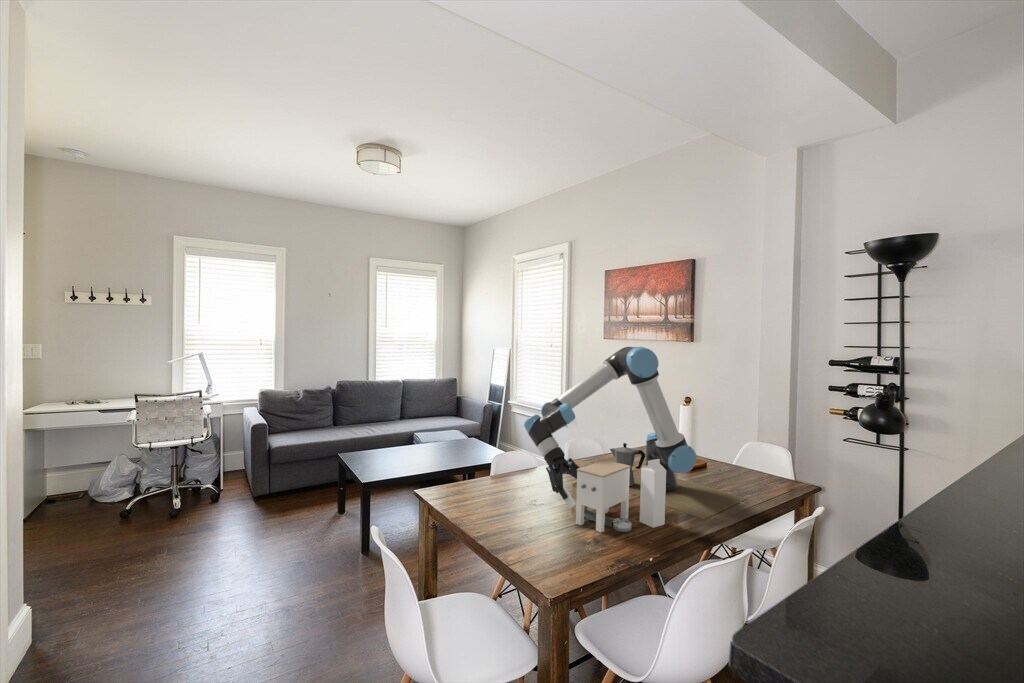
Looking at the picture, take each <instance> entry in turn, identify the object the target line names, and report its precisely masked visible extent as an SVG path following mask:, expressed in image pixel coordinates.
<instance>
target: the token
mask: <svg viewBox="0 0 1024 683" xmlns="http://www.w3.org/2000/svg"><path fill="white" fill-rule="evenodd" d="M632 524H633V522H632V521H631V520H630V519H629V518H627V519H625V518H620V517H616V518H614V520H613V526H612V528H613V530H614V531H617V532H621V533H629V532H631V531H632Z"/></svg>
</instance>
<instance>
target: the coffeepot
mask: <svg viewBox="0 0 1024 683" xmlns="http://www.w3.org/2000/svg"><path fill="white" fill-rule="evenodd" d="M622 445H623V446H622V447H612V448H610V449H609V451H610V452H611V453H612V455H613V457H614V460H615V461H614V462H616V463H621V464H625V465H629V466H631V468H630V477H629V486H632V485H634V484H635V478H634V470H633V466H634V464H635V463H634V462H635V457H636V455H640V458H639V459H640V460H639V462H638V465H637V466H635V467H634V468H635V469H636V470H641V468H642V466H643V463H644V461H645V459H646V452H644V451H643V450H641V449H634V448H631V447H627V445H628V443H625V442H624V443H623V444H622ZM634 486H635V485H634ZM632 487H633V486H632Z"/></svg>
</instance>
